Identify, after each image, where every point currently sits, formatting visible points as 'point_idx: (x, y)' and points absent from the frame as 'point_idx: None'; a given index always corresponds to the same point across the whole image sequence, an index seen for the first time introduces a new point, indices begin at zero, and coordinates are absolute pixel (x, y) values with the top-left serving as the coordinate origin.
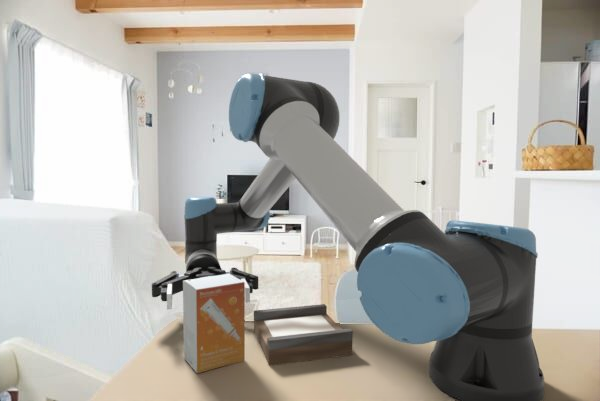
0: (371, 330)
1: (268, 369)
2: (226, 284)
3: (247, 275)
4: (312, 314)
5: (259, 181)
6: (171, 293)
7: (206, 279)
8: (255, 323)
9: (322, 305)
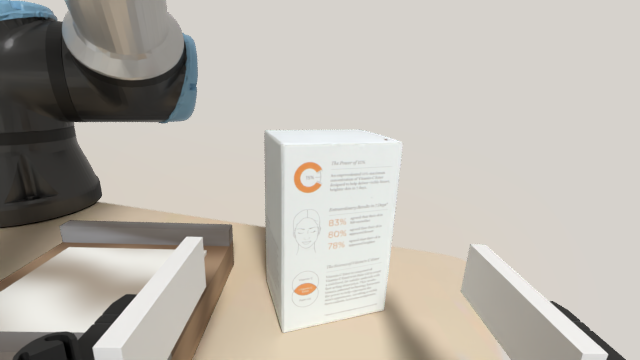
0: None
1: (239, 258)
2: (304, 130)
3: (62, 334)
4: None
5: None
6: (481, 262)
7: (345, 136)
8: (178, 350)
9: None
